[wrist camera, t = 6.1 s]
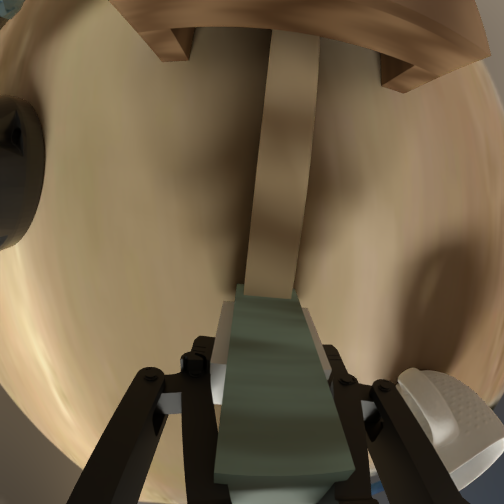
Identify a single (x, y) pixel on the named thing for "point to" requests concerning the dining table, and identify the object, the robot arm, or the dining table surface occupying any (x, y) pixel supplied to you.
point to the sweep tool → (279, 315)
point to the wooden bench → (330, 29)
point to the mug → (453, 422)
